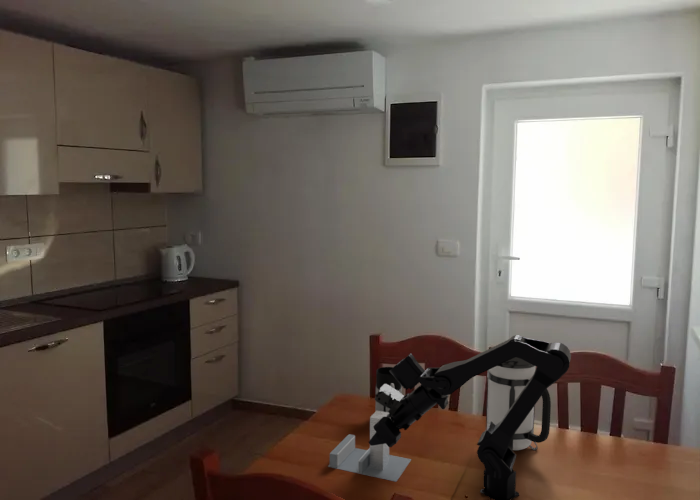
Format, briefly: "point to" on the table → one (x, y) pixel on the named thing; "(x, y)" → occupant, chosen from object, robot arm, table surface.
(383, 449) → the aluminium bar
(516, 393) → the coffee press
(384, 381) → the glass holder
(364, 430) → the table surface
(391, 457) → the vise
